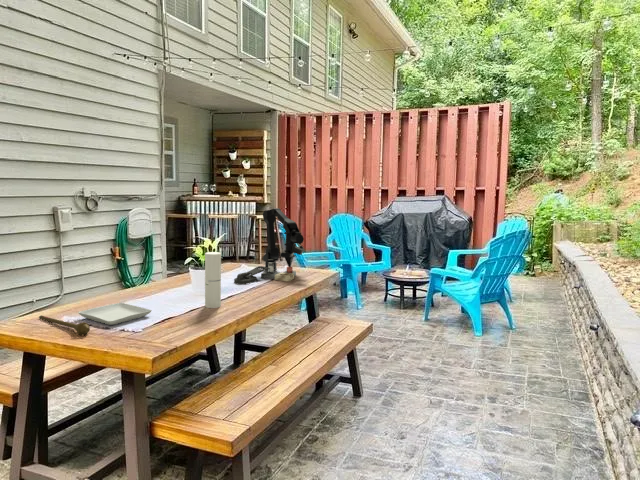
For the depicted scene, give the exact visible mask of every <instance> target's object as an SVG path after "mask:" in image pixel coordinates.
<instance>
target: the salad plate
mask: <svg viewBox="0 0 640 480" xmlns="http://www.w3.org/2000/svg"><path fill="white" fill-rule="evenodd" d="M77 313H78V315H80V316H81V317H83V318H85V319H87V320H91V321H93V320H94V321H93V322H97V323H100V322H101V324H104V323H105V325H109V326H111V325H112V326H113V325H118V323H119V324H122V323H125V321H126V322H129V320H130V321H133V320H137V319H140V318H143V317H146V316H147V315H149V314H151V313H152V309H150V308H144V307H141V306H137V305H133V304H128V303H125V302H117V303H114V304H113V303H112V304H107V305H103V306H98V307H97V306H96V307H92V308H89V309H85V310H81V311H78V312H77ZM136 318H137V319H136ZM132 319H133V320H132ZM121 322H122V323H121Z"/></svg>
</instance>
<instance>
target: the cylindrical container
mask: <svg viewBox="0 0 640 480" xmlns="http://www.w3.org/2000/svg"><path fill="white" fill-rule="evenodd" d="M204 275H205V276H204V307H205V308H208V309H217V308H220V307H222V306H221V302H222V301H221V300H222V299H221V298H222V297H221V295H222V293H221V292H222V282H221V281H222V279H221V278H222V253H221V252H219V251H218V252H217V251H207V252H205V253H204Z"/></svg>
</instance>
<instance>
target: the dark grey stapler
mask: <svg viewBox="0 0 640 480" xmlns="http://www.w3.org/2000/svg"><path fill="white" fill-rule="evenodd" d="M268 269H269V268H268V267H265V266H262V265H261V266H260V265H258V266H257V267H254V268H253V269H251V270H247V272H241V273H238V274H237V276H236V277H235V278H234V279H233V283H234V284H236V283H238V285H247V284H246V283H249V284H251V283H250V282H252V283H254V282H253V281H255V282H258V276H255V275H257V274H261V273H264V272H266V271H268Z"/></svg>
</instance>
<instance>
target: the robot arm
mask: <svg viewBox="0 0 640 480" xmlns="http://www.w3.org/2000/svg"><path fill="white" fill-rule="evenodd" d="M262 217H263V218H262V219H263V222H264V223H265V224H266V236H267V237H266V238H267V247H266V248H265V254H264V255H263V257H262V259H263V262H265V266H264V267H268V262H273V263H274V271H276V270H277V264H278V263H277V261H279V257H280V258H284V261H286V264H287V267H292V263H293V261H294V259H295V257H297V255H298V256H299V255H300V256H301V255H303V253H304V252H305V248H304V246H303V245H301V244H302V243H304V236H303V234H302V233H301V232H300V229H299V226H298V224H297V222H296V221H295V220H293V219H291V218H288V216H287V215H285V214H284V212H283V211H282V210H281V208H278V207H274V208H272V209H268V210H267V209H266V210H264V211H263V213H262ZM277 219H278V221H279V222H280V223H282V228H283V229H284V231H285V232H283V234H284V235H285V243H284V246H285V249H284V250H283V251H282V252H281V253H280V248H279V247H277V245H276V235H275V232H276V231H275V222H276V220H277ZM297 244H298V245H301V246H297ZM296 254H297V255H296ZM275 269H276V270H275Z"/></svg>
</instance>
